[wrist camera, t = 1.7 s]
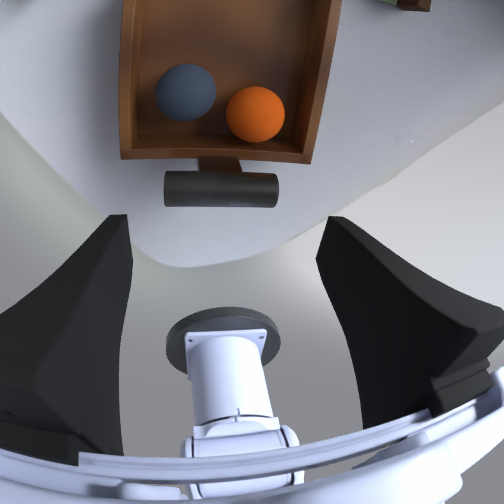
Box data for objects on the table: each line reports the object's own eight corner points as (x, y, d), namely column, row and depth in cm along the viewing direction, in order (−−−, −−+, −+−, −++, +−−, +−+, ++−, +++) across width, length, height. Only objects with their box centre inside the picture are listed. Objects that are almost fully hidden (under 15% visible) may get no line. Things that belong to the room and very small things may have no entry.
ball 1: (219, 54, 13) (212, 99, 16) (159, 53, 13) (159, 99, 15) (220, 84, 12) (213, 133, 14) (150, 83, 11) (153, 133, 14)
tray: (291, 164, 19) (325, 215, 15) (131, 161, 17) (109, 214, 13) (321, -6, 12) (377, -17, 8) (138, -22, 10) (110, -49, 6)
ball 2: (274, 107, 17) (277, 153, 16) (222, 103, 16) (222, 150, 16) (289, 79, 14) (295, 128, 14) (230, 72, 13) (230, 123, 13)
